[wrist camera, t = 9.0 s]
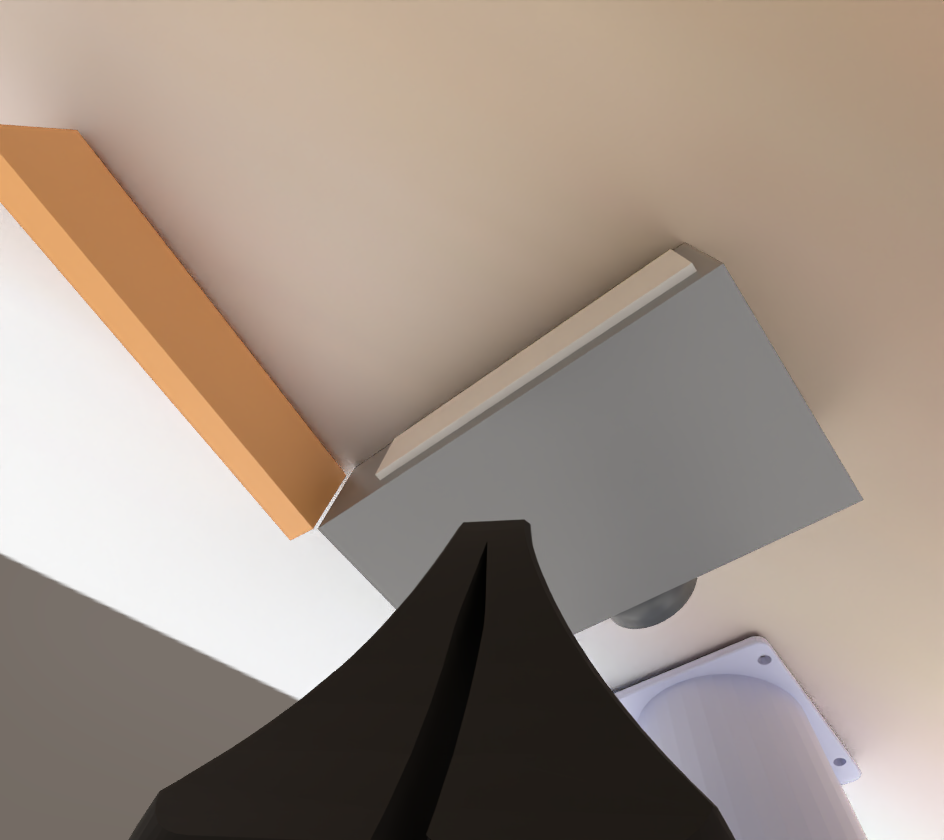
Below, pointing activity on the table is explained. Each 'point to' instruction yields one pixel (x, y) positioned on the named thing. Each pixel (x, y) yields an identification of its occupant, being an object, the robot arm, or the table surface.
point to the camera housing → (609, 454)
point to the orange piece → (164, 320)
